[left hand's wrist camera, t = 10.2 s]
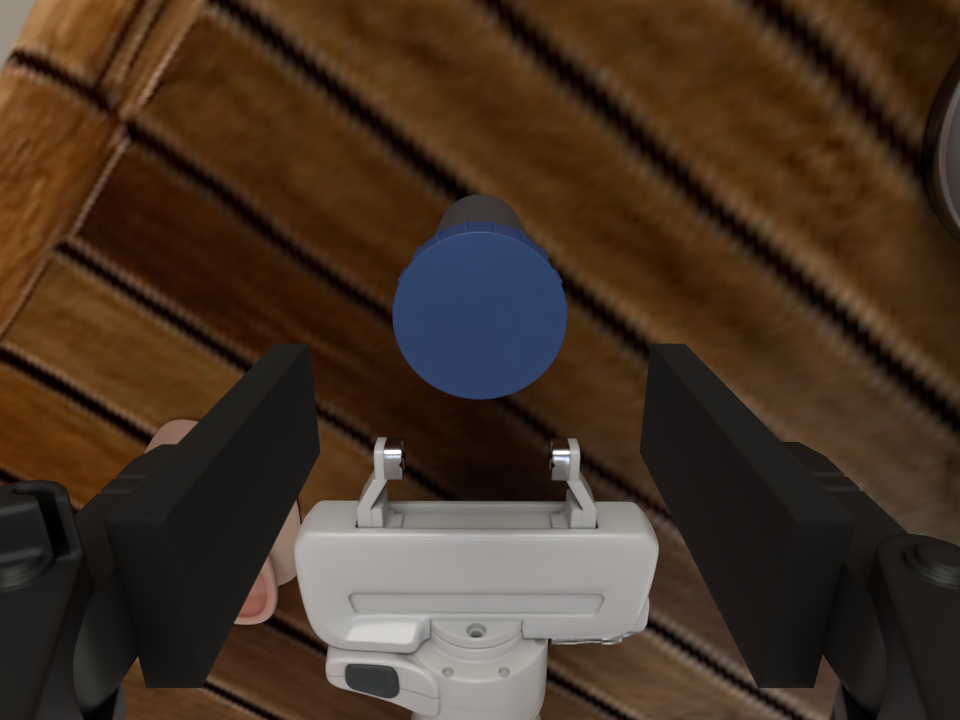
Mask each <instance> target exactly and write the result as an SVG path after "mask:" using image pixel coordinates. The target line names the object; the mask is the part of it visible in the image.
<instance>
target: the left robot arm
mask: <svg viewBox="0 0 960 720" xmlns="http://www.w3.org/2000/svg"><path fill="white" fill-rule="evenodd" d="M924 170H925V179H926V185H927V190H928V193H929V197H930V200H931V202H932V205H933V207H934V210H935V212H936V213H937V215H938V217H939V219H940V221H941V222H942V223H943V225H944V226H945V227H946V229H947V230H948V231H949V232H950V233H951V234H952V235H953V236H954V237H955V238H956V239H957V240H958V241H960V56H959V57H958V58H957V60H956V62H955V63H954V65H953V67H952V68H951V70H950V71H949V73H948V75H947V77H946V79H945V81H944V83H943V85H942V87H941V89H940V91H939V94H938V96H937V99H936V101H935V104H934V107H933V110H932V113H931V116H930V120H929V124H928V129H927V133H926V140H925V148H924ZM319 454H320V444H319V435H318V425H317V416H316V406H315V396H314V387H313V377H312V368H311V358H310V349H309V344H274V345H273V346H272V347H271V348H270V349H269V350H268V351H267V353H266V354H265V355H264V356H263V357H262V358H261V359H260V360H259V361H258V362H257V363H256V364H255V365H254V366H253V367H252V368H251V369H250V370H249V371H248V372H247V373H246V374H245V375H244V376H243V377H242V378H241V379H240V380H239V381H238V382H237V383H236V384H235V385H234V386H233V387H232V388H231V389H230V390H229V391H228V392H227V393H226V394H225V395H224V396H223V397H222V398H221V400H220V401H219V402H218V403H217V404H216V405H215V406H214V407H213V408H212V409H211V410H210V411H209V412H208V413H207V414H206V415H205V416H204V417H203V418H202V419H201V420H200V421H199V422H198V423H197V424H196V425H195V426H194V427H193V428H192V429H191V430H190V431H189V432H188V433H187V434H186V435H185V436H184V437H183V438H182V439H181V440H180V441H179V442H178V443H177V444H161V445H159V446H158V447H156V448H154V449H152V450H150V451H148V452H146V453H145V454H143V455H141V456H139V457H137V458H135V459H134V460H133V461H132V462H131V463H130V464H129V465H128V466H126V467H125V468H124V469H123V470H122V471H121V472H120V473H119V474H118V475H117V478H116V479H113V480H112V481H111V482H109V483H108V484H107V485H106V486H105V487H104V488H103V489H102V490H101V494H97V495H96V496H95V497H93V498H92V499H91V500H90V501H89V502H88V503H87V504H86V505H85V506H84V507H83V508H82V509H81V510H80V511H79V512H78V513H76V514H75V515H74V512H73V509H72V505H71V502H70V498H69V494H68V491H67V488H66V487H64V486H63V485H61V484H59V483H58V482H53V481H45V480H33V481H22V482H15V483H11V484H7V485H2V486H0V720H124V719H125V713H126V705H125V698H124V693H123V690H122V686H121V681H122V679H123V678H124V676H125V675H126V673H127V672H128V670H129V669H130V667H131V666H132V664H133V663H134V661H135V660H136V658H137V657H139V661H140V665H141V669H142V673H143V677H144V681H145V684H146V688H202V686H203V684H204V682H205V680H206V678H207V676H208V674H209V672H210V670H211V668H212V666H213V664H214V662H215V660H216V658H217V656H218V654H219V652H220V650H221V648H222V646H223V644H224V642H225V641H226V639H227V637H228V635H229V633H230V631H231V629H232V627H233V625H234V623H235V621H236V619H237V617H238V615H239V613H240V611H241V609H242V607H243V605H244V603H245V601H246V599H247V597H248V595H249V593H250V591H251V589H252V587H253V585H254V583H255V581H256V579H257V577H258V575H259V573H260V571H261V569H262V567H263V565H264V563H265V561H266V559H267V557H268V555H269V553H270V551H271V549H272V547H273V545H274V543H275V541H276V539H277V537H278V535H279V533H280V531H281V529H282V527H283V525H284V523H285V521H286V519H287V517H288V515H289V513H290V511H291V509H292V507H293V505H294V503H295V501H296V499H297V497H298V495H299V493H300V491H301V489H302V487H303V485H304V483H305V481H306V479H307V477H308V475H309V473H310V471H311V469H312V467H313V465H314V463H315V462H316V460H317V458H318V456H319ZM640 454H641V456H642V458H643V460H644V462H645V464H646V465H647V467H648V469H649V471H650V473H651V475H652V477H653V479H654V481H655V483H656V485H657V487H658V489H659V491H660V493H661V495H662V497H663V499H664V501H665V503H666V505H667V507H668V509H669V511H670V513H671V515H672V517H673V519H674V521H675V523H676V525H677V527H678V529H679V531H680V533H681V535H682V537H683V539H684V541H685V543H686V545H687V547H688V549H689V551H690V553H691V555H692V557H693V559H694V561H695V563H696V565H697V567H698V569H699V571H700V573H701V575H702V577H703V579H704V581H705V583H706V585H707V587H708V589H709V591H710V593H711V595H712V597H713V599H714V601H715V603H716V605H717V607H718V609H719V611H720V613H721V615H722V617H723V619H724V621H725V623H726V625H727V627H728V629H729V631H730V633H731V635H732V637H733V639H734V641H735V643H736V644H737V646H738V648H739V650H740V652H741V654H742V656H743V658H744V660H745V662H746V664H747V666H748V668H749V670H750V672H751V674H752V676H753V678H754V680H755V682H756V684H757V686H758V688H814V684H815V681H816V677H817V673H818V669H819V665H820V661H821V657H822V653H823V655H824V656H825V658H826V659H827V661H828V662H829V664H830V665H831V667H832V669H833V670H834V672H835V673H836V675H837V676H838V678H839V679H840V682H839V686H838V690H837V693H836V697H835V700H834V704H833V708H832V711H831V715H830V719H829V720H960V547H959V546H957V545H954V544H952V543H950V542H946V541H943V540H939V539H936V538H932V537H929V536H923V535H914V534H908V533H907V532H906V531H905V530H904V529H903V528H902V527H901V526H900V525H899V524H898V523H896V522H895V521H894V520H893V519H892V518H891V517H890V516H889V515H888V514H887V513H886V512H885V511H884V510H882V509H881V508H880V507H879V506H878V505H877V504H876V503H875V502H874V501H873V500H872V499H871V498H870V497H869V496H867V495H866V494H865V493H864V492H860V491H859V487H858V486H857V485H856V484H855V483H854V482H852V481H851V480H850V479H849V478H848V477H844V473H843V472H842V471H841V470H840V469H839V468H837V467H836V466H835V465H834V464H833V463H832V462H831V461H830V460H829V459H828V458H827V457H826V456H824V455H822V454H820V453H818V452H816V451H814V450H812V449H811V448H809V447H807V446H805V445H803V444H801V443H799V442H781V441H780V440H779V439H778V438H777V437H776V436H775V435H774V434H773V433H772V432H771V431H770V430H769V429H768V428H767V427H766V426H765V425H764V424H763V423H762V422H761V421H760V420H759V419H758V418H757V417H756V416H755V415H754V414H753V413H752V412H751V411H750V410H749V409H748V408H747V407H746V406H745V405H744V404H743V403H742V402H741V401H740V400H739V398H738V397H737V396H736V395H735V394H734V393H733V392H732V391H731V390H730V389H729V388H728V387H727V386H726V385H725V384H724V383H723V382H722V381H721V380H720V379H719V378H718V377H717V376H716V375H715V374H714V373H713V372H712V371H711V370H710V369H709V368H708V367H707V366H706V365H705V364H704V363H703V362H702V361H701V360H700V359H699V358H698V357H697V356H696V355H695V354H694V353H693V351H692V350H691V349H690V348H689V347H688V346H687V345H686V344H651V349H650V358H649V368H648V377H647V387H646V396H645V406H644V416H643V425H642V435H641V444H640Z"/></svg>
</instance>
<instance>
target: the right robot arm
mask: <svg viewBox="0 0 960 720" xmlns="http://www.w3.org/2000/svg"><path fill="white" fill-rule="evenodd" d="M549 448H550V452H549V457H548V465H549V470H550V475H551V479H552V480H563V481H567V483H568V485H569V486H570V488H571V489H568V490H567V491H566V501H388V493H387V489H386V488H383V487H384V485H385V483H386V482H387V480H402V478H403V474H404V469H405V465H406V453H405V451H404V449H405V438H378V439H377V442H376V445H375V449H374V468H375V469H374V471H373V472H372V474H371V476H370V477H369V479H368V481H367V482H366V484H365V486H364V487H363V490H362V493H361V496H360V499H359V501H335V500H325V501H320V502H318V503H317V504H316V505H315V506H314V507H313V508H312V509H311V511H310V512H309V513H308V514H307V516H306V517H305V519H304V521H303V522H302V524H301V526H300V529H299V531H298V534H297V537H296V540H295V545H294V558H295V566H296V572H297V578H298V583H299V588H300V592H301V596H302V600H303V603H304V607H305V610H306V614H307V617H308V620H309V622H310V624H311V626H312V628H313V630H314V631H315V633H316V634H317V635H318V636H319V637H320V638H321V639H322V640H323V641H324V642H326V643H327V644H329V646H328V652H327V660H326V676H327V679H328V681H329V682H330V683H331V684H332V685H334V686H336V687H338V688H341V689H345V690H349V691H353V692H358V693H361V694H365V695H369V696H373V697H376V698H379V699H383V700H386V701H389V702H392V703H394V704H397V705H399V706H402V707H404V708H407V709H409V710H411V711H413V713H412V717H411V720H541V717H540V713H539V712H540V710H541V708H542V705H543V701H544V697H545V689H546V673H547V655H548V646H549V645H553V644H554V645H577V644H583V643H584V644H585V643H592V642H593V643H600V644H602V645H614V644H619V643H621V642H622V638H625V637H629V636H632V635H634V634H636V633H637V632H640V631H642V630H643V629H644V628H645V626H646V624H647V620H648V612H649V604H650V597H649V591H650V588H651V584H652V581H653V577H654V573H655V569H656V564H657V559H658V552H659V546H658V541H657V538H656V535H655V532H654V529H653V527H652V525H651V523H650V521H649V519H648V518H647V516H646V515H645V514H644V512H643V511H642V510H641V509H640V508H639V507H638V506H637V505H636V504H635V503H633V502H595V501H594V498H593V495H592V492H591V488H590V487H589V485H588V483H587V482H586V480H585V478H584V477H583V475H582V473H581V472H580V470H579V467H580V449H579V445H578V442H577V439H550V440H549Z"/></svg>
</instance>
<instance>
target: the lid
mask: <svg viewBox="0 0 960 720" xmlns="http://www.w3.org/2000/svg"><path fill="white" fill-rule="evenodd" d="M398 282H399V285H398V288H397V291H396V295H395V299H394V304H393V306H392V310H393V326H394V332H395V336H396V340H397V343H398V346H399V348H400V350H401V352H402V354H403V356H404V357H405V359H406V360H407V362H408V364H409V365H410V366H411V367H412V368H413V370H414V371H415V372H416V373H417V374H418V375H419V376H420V377H421V378H422V379H424V380H425V381H426V382H428V383H429V384H431V385H432V386H434V387H436V388H437V389H439V390H441V391H443V392H446V393H448V394H451V395H454V396H458V397H462V398H469V399H491V398H498V397H502V396H506V395H509V394H512V393H514V392H517V391H519V390H521V389H523V388H525V387H526V386H528V385H529V384H531V383H532V382H534V381H535V380H536V379H537V378H539V377H540V376H541V375H542V374H543V373H544V372H545V371H546V370H547V368H548V367H549V366H550V365H551V363H552V362H553V360H554V359H555V358H556V356H557V354H558V352H559V350H560V348H561V345H562V342H563V340H564V337H565V332H566V327H567V311H568V307H567V304H566V299H565V294H564V291H563V288H562V285H561V283H563V282H562V280H561V278H560V276H559V274H558V273H557V271H556V269H553V268H552V266H551V264H550V262H549V260H548V257H547V255H546V253H545V251H544V249H543V248H542V247H540V248H539V247H538V246H537V245H536V244H535V243H534V242H533V241H532V240H531V239H529V238H528V237H527V236H526V235H524V234H523V232H522V230H520V229H519V231H517V230H515V229H513V228H511V227H508V226H505V225H502V224H498V223H496V221H493V222H481V221H475V222H468V220H466V221H465V223H462V224H458V225H454V226H452V227H449V228H447V229H445V230H443V231H442V229H440V230H439V231H438V234H436V235H434V236H433V237H432V238H431V239H429V240H428V241H427V242H426V243H425V244H424V245H423V246H422V247H421V246H419V247H418V248H417V250H416V252H415V253H414V255H413V259H412V260H411V262H410V264H409V266H408V268H407V269H406V268H405V269H404V271H403V272H402V274H401V276H400V278H399V279H398Z"/></svg>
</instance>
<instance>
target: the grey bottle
mask: <svg viewBox="0 0 960 720" xmlns="http://www.w3.org/2000/svg"><path fill="white" fill-rule="evenodd" d="M466 220H468V222H475V221H481V222H493V221H496V223H498V224H502V225H505V226H508V227H511V228H513V229H515V230H517V231H519V229H520V230H522V232H523V234H524V235H526V234H525V232H524V230H523V227H522V225H521V223H520V221H519V219H518V217H517V215H516V214H515V212H514V211H513V210H512V208H511V207H510V206H509V205H507V204H506V203H505V202H503V201H502V200H500V199H498V198H496V197H493V196H489V195H471V196H467V197H464V198H462V199H460V200H458V201H457V202H455V203H454V204H453V205H451V206H450V207H449V208H448V209H447V211H446V212H445V213H444V215H443V217H442V219H441V221H440V223H439V225H438V227H437V230H436V232H435V234H434V235H436V234H438V231H439V230H440V229H442V231H443V230H445V229H447V228H449V227H452V226H454V225H458V224H462V223H465V221H466Z"/></svg>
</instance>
